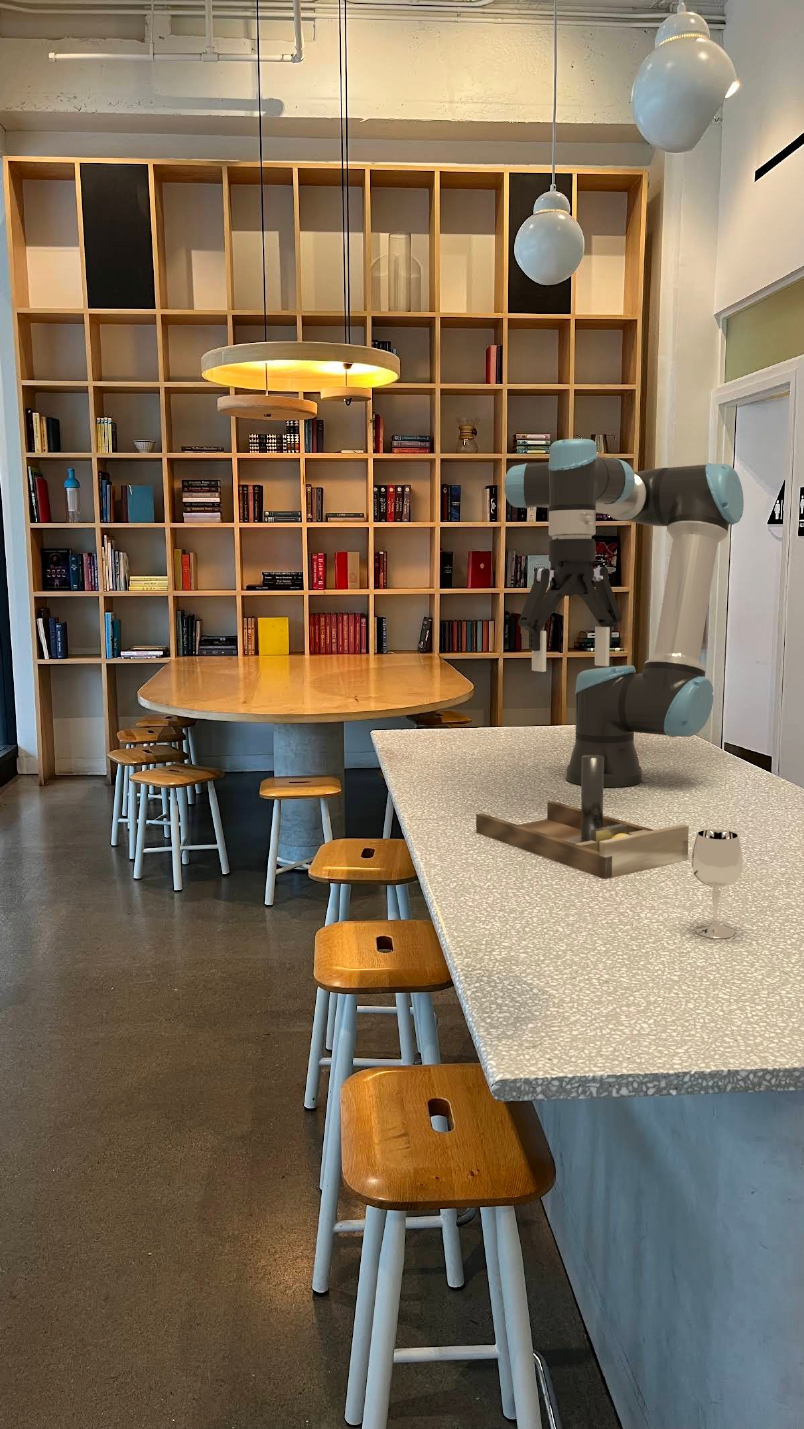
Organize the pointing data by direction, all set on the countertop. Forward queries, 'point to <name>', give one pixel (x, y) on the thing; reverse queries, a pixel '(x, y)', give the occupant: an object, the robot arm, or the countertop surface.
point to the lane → (590, 842)
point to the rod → (594, 804)
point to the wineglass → (716, 870)
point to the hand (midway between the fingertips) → (571, 668)
